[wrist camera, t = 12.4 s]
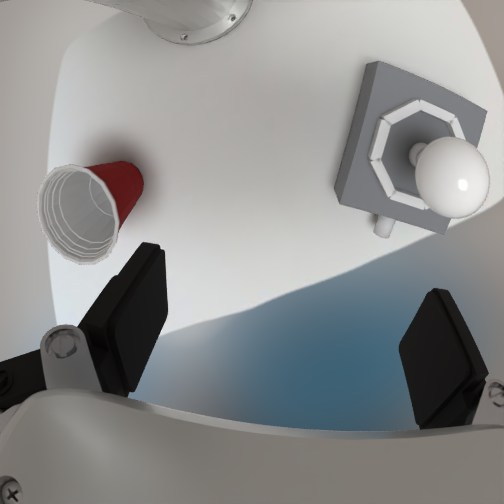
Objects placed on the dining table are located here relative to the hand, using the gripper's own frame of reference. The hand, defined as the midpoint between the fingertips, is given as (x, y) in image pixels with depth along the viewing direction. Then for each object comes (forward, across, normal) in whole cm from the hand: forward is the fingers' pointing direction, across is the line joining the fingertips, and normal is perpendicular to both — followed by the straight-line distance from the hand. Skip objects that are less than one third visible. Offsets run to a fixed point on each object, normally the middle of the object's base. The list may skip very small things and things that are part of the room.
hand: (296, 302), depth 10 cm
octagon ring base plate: (+26, -12, -1) cm, 29 cm away
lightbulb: (+21, -12, -3) cm, 25 cm away
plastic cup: (+27, +20, +7) cm, 34 cm away
